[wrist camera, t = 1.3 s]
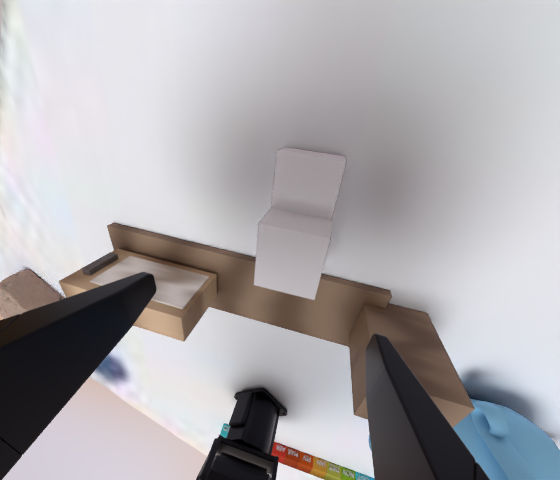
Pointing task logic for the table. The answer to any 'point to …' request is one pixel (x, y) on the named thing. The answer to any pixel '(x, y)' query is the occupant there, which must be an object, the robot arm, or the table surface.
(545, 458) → the decorative pot
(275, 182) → the white chair-shaped block
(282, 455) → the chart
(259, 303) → the wooden shelf
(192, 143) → the table surface
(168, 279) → the wall mounted shelf tray
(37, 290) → the brick
